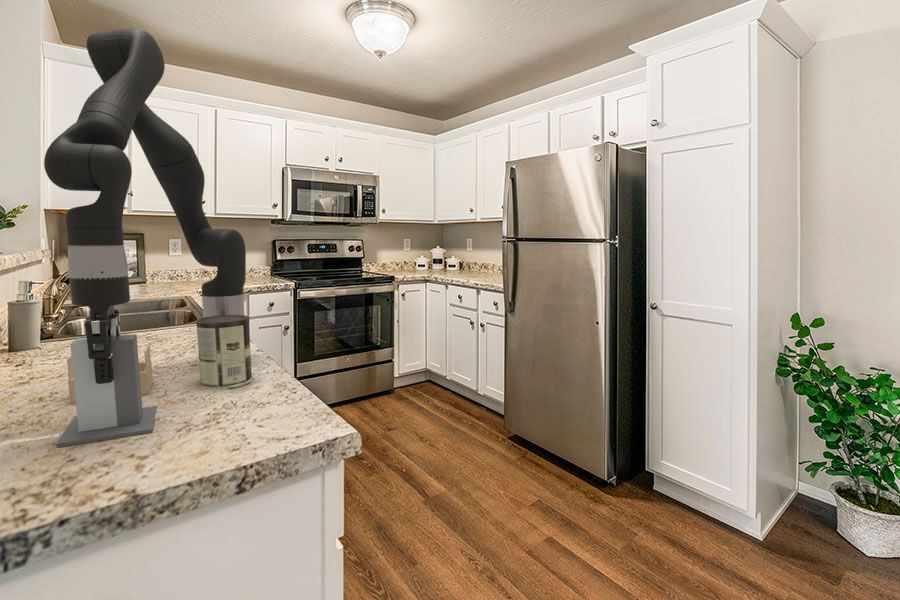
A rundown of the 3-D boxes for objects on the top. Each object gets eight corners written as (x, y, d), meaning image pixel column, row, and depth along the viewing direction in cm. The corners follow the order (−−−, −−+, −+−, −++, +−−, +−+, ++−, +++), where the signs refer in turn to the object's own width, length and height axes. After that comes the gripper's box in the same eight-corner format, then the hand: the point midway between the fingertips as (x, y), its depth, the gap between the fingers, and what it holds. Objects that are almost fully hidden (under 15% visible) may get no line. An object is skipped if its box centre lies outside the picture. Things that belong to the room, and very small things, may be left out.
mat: (157, 408, 85) (157, 405, 85) (152, 432, 75) (152, 428, 75) (74, 420, 80) (74, 417, 79) (56, 447, 69) (56, 443, 69)
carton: (152, 384, 100) (149, 342, 99) (149, 396, 92) (145, 352, 91) (81, 392, 94) (77, 348, 93) (70, 407, 86) (65, 359, 85)
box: (142, 413, 81) (136, 334, 80) (139, 422, 77) (133, 339, 75) (85, 421, 78) (77, 338, 76) (78, 432, 73) (70, 344, 72)
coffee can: (226, 374, 108) (223, 313, 106) (262, 378, 105) (259, 316, 103) (188, 386, 98) (183, 320, 96) (226, 392, 95) (223, 323, 93)
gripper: (121, 276, 70) (130, 386, 72) (133, 271, 82) (140, 364, 84) (57, 278, 66) (68, 393, 68) (79, 272, 79) (88, 369, 81)
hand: (108, 376), depth 76 cm, fingers open, 6 cm apart
